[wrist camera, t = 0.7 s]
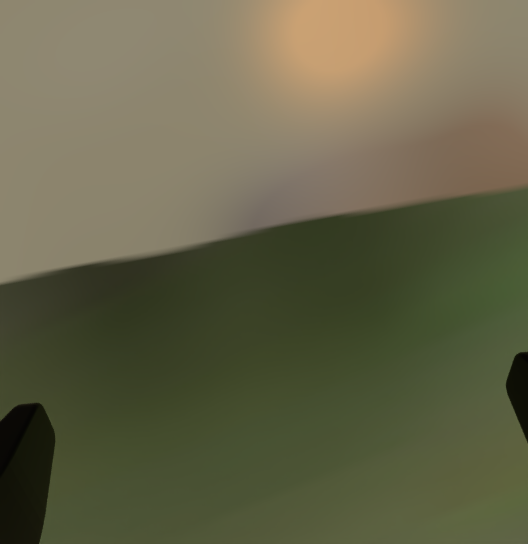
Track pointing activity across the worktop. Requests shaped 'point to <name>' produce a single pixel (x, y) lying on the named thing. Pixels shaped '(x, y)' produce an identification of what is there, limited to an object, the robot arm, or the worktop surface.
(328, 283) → the worktop surface
